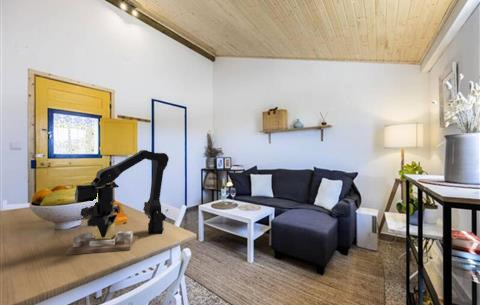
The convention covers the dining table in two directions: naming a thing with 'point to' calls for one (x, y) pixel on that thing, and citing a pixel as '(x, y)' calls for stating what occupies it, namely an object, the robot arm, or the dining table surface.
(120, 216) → the bracket
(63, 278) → the dining table surface
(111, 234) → the tan rectangular block
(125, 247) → the coupling base
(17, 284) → the dining table surface
